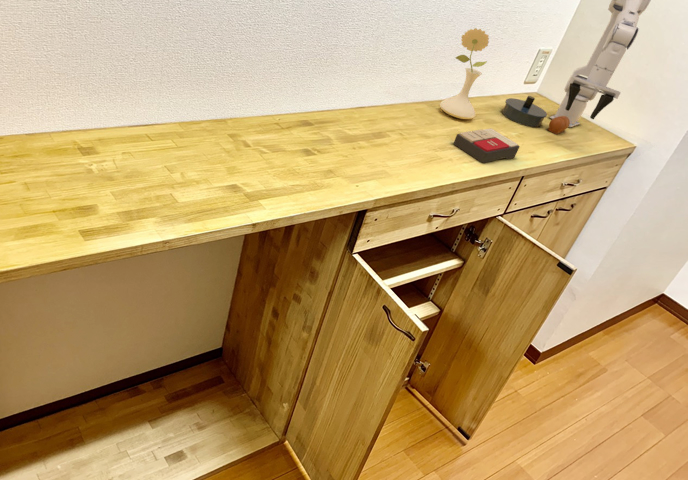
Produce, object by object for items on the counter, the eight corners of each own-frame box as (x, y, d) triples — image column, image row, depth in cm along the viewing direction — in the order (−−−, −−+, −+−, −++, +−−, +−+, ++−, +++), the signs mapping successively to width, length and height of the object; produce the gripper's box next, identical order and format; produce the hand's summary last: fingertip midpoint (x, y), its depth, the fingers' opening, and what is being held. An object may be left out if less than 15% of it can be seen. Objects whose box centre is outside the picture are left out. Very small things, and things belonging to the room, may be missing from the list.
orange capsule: (554, 125, 193) (561, 112, 190) (567, 132, 190) (574, 118, 188) (543, 129, 187) (551, 115, 184) (557, 135, 185) (564, 122, 182)
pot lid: (515, 99, 197) (521, 86, 194) (552, 116, 191) (558, 104, 188) (497, 103, 188) (503, 90, 185) (534, 122, 181) (541, 108, 179)
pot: (512, 108, 198) (517, 98, 196) (545, 124, 192) (551, 114, 190) (495, 112, 190) (500, 102, 188) (529, 129, 184) (535, 119, 182)
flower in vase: (477, 118, 180) (513, 37, 165) (466, 125, 172) (503, 41, 157) (440, 102, 184) (472, 22, 169) (427, 109, 176) (460, 25, 161)
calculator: (457, 131, 155) (491, 125, 163) (451, 145, 158) (485, 139, 166) (487, 150, 149) (521, 143, 157) (481, 165, 151) (515, 157, 159)
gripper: (582, 62, 161) (557, 108, 168) (632, 78, 160) (605, 125, 167) (577, 59, 167) (554, 104, 174) (626, 75, 166) (600, 120, 173)
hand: (579, 114), depth 171 cm, fingers open, 7 cm apart
